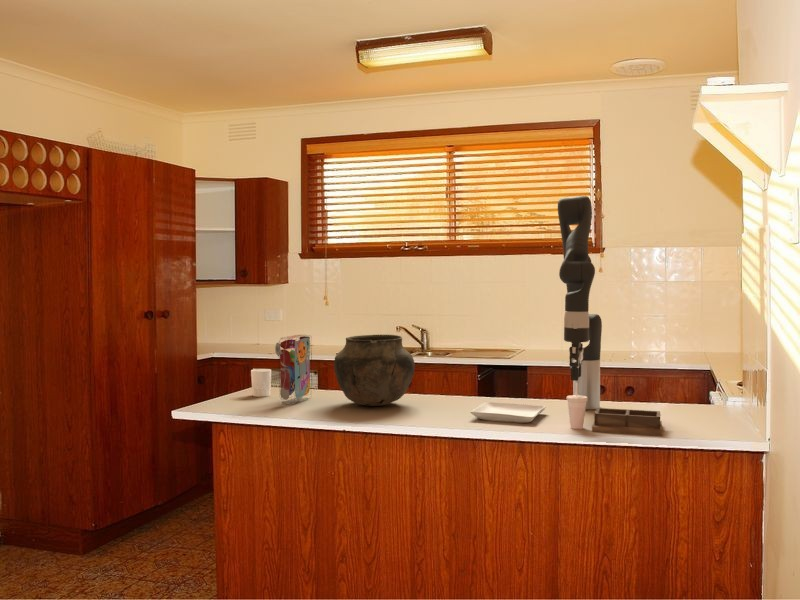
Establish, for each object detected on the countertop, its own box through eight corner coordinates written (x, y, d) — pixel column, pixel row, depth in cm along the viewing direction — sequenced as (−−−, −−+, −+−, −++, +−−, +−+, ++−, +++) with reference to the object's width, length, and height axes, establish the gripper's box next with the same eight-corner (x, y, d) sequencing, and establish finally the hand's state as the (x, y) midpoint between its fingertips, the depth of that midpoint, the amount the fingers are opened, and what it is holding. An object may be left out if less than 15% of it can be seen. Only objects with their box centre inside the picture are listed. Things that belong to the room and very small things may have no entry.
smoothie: (584, 425, 236) (584, 381, 235) (590, 429, 229) (590, 384, 229) (563, 425, 236) (564, 381, 235) (569, 430, 229) (569, 384, 229)
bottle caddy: (595, 421, 242) (595, 406, 241) (661, 425, 235) (661, 409, 235) (591, 431, 227) (592, 415, 227) (661, 435, 221) (662, 419, 221)
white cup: (250, 394, 297) (249, 369, 297) (270, 393, 299) (269, 368, 299) (252, 397, 290) (252, 371, 289) (272, 396, 292) (272, 370, 291)
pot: (331, 414, 256) (331, 341, 255) (336, 398, 287) (335, 333, 286) (417, 413, 257) (417, 340, 256) (412, 397, 288) (412, 332, 287)
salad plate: (546, 414, 256) (546, 404, 256) (533, 426, 236) (533, 415, 236) (486, 410, 264) (486, 400, 264) (468, 421, 244) (468, 411, 244)
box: (283, 409, 264) (283, 340, 263) (267, 408, 266) (267, 340, 265) (312, 398, 288) (311, 334, 287) (297, 397, 290) (297, 334, 289)
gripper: (566, 324, 239) (566, 375, 240) (561, 327, 226) (560, 381, 226) (591, 325, 237) (590, 376, 237) (587, 327, 223) (586, 382, 224)
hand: (576, 378), depth 232 cm, fingers open, 8 cm apart
